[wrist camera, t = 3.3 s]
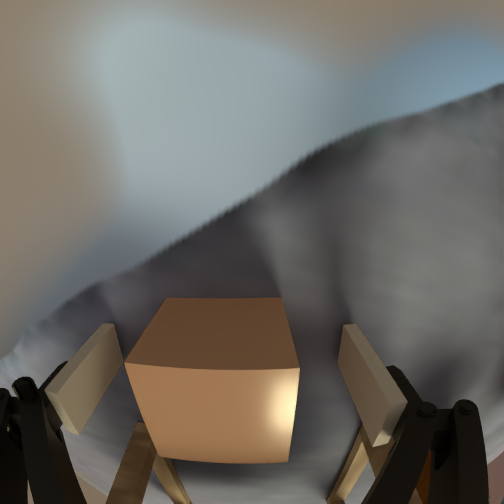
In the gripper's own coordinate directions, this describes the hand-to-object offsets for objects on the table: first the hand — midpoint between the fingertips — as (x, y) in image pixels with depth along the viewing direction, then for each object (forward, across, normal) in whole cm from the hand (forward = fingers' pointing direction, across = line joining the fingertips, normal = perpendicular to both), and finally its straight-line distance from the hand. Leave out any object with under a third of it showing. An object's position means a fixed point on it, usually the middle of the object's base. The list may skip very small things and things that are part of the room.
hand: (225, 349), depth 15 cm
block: (0, 0, 0) cm, 0 cm away
